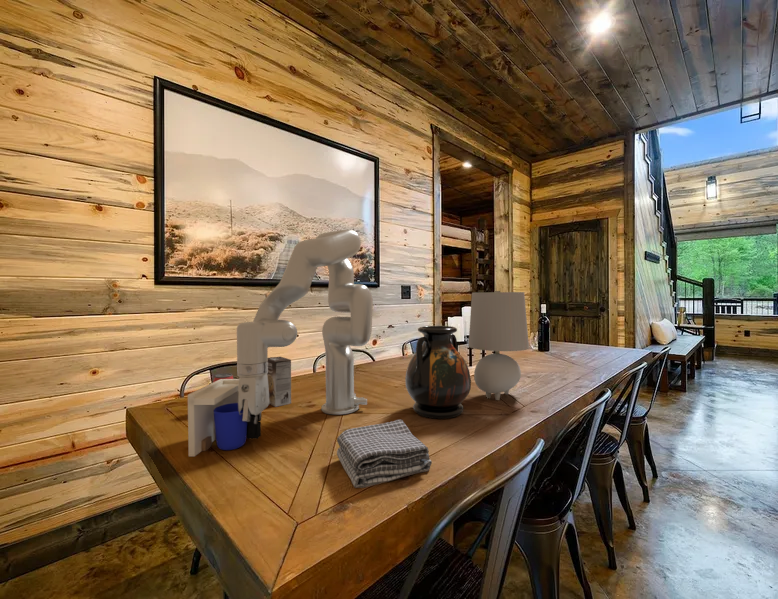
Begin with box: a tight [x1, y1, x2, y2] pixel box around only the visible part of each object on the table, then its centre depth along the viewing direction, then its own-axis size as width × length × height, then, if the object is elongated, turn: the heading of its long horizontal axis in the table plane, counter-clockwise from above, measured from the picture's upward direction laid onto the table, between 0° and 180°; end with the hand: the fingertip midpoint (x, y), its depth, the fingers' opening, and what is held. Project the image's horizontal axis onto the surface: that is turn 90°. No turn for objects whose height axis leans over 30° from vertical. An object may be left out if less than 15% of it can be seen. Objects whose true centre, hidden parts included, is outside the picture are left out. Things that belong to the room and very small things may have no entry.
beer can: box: [212, 372, 235, 383], centre depth 120 cm, size 7×7×12 cm
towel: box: [336, 419, 432, 489], centre depth 79 cm, size 15×18×8 cm
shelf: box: [187, 378, 239, 457], centre depth 92 cm, size 6×16×15 cm, turn 179°
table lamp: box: [468, 290, 530, 401], centre depth 131 cm, size 23×22×40 cm
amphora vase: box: [404, 325, 472, 420], centre depth 116 cm, size 22×22×28 cm
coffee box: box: [267, 356, 292, 408], centre depth 127 cm, size 9×6×16 cm
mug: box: [214, 403, 247, 451], centre depth 92 cm, size 8×12×10 cm
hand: (253, 437), depth 92 cm, fingers closed
